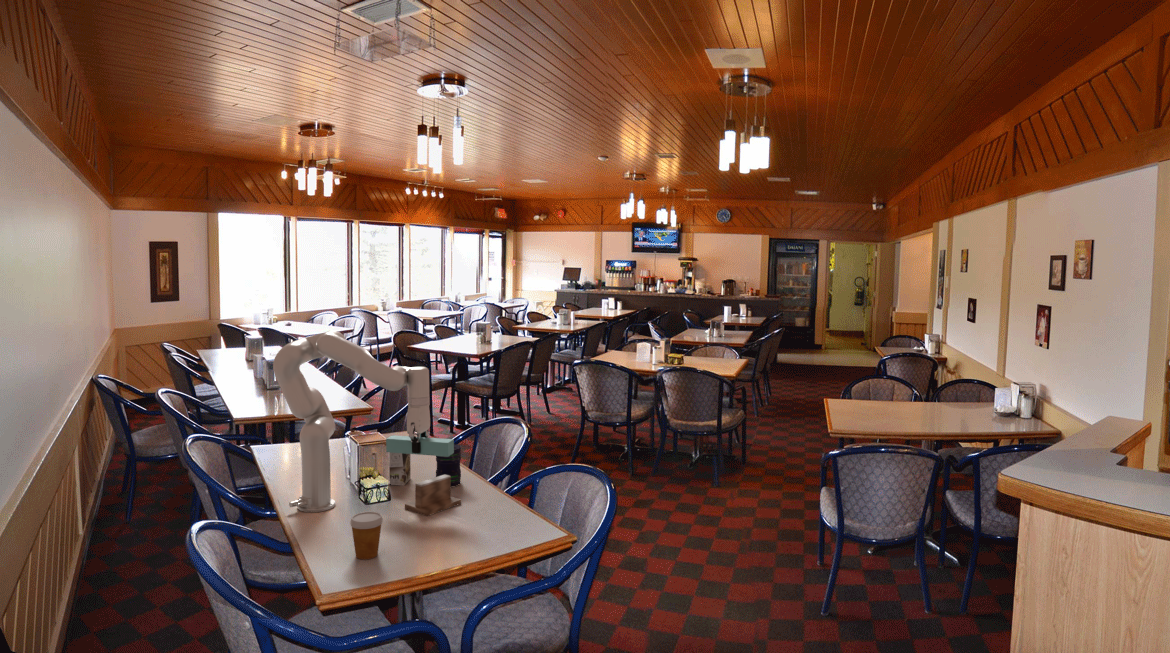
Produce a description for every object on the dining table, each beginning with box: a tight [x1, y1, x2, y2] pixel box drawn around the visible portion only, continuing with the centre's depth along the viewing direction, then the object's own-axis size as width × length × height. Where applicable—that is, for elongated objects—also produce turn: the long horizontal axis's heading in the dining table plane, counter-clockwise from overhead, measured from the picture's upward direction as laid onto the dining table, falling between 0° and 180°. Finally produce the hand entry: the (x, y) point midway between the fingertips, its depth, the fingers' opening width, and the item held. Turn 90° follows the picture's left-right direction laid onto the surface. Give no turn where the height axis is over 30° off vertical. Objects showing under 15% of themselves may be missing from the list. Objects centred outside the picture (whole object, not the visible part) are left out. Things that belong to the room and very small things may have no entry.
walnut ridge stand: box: [404, 474, 462, 517], centre depth 253 cm, size 16×12×10 cm
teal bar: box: [385, 434, 455, 457], centre depth 253 cm, size 24×5×5 cm, turn 77°
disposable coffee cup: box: [349, 511, 384, 561], centre depth 210 cm, size 10×10×12 cm
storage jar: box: [435, 443, 462, 487], centre depth 279 cm, size 10×10×15 cm
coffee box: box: [388, 452, 412, 486], centre depth 279 cm, size 9×6×16 cm
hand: (420, 450), depth 253 cm, fingers closed on teal bar, 5 cm apart
